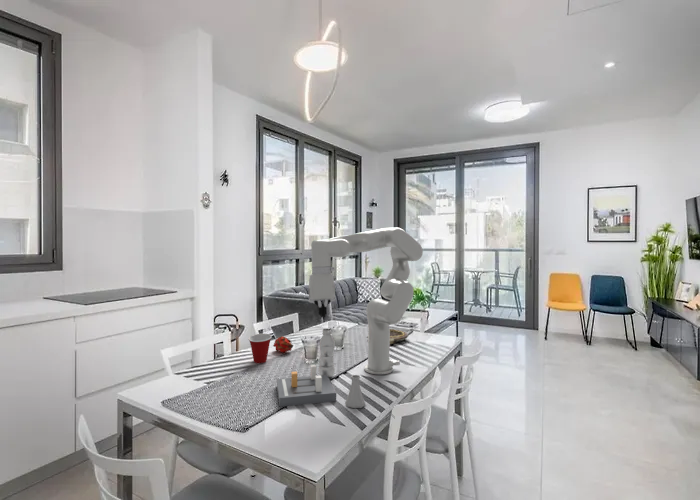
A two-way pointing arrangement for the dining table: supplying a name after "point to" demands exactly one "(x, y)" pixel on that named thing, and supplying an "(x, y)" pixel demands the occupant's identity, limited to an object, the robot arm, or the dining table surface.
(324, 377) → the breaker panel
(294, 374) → the block
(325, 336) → the plastic bottle
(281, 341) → the dragon fruit
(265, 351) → the plastic cup
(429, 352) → the dining table surface
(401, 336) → the pie
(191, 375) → the dining table surface
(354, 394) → the flask
